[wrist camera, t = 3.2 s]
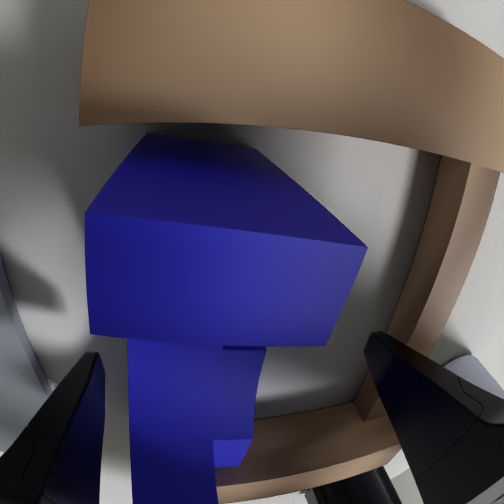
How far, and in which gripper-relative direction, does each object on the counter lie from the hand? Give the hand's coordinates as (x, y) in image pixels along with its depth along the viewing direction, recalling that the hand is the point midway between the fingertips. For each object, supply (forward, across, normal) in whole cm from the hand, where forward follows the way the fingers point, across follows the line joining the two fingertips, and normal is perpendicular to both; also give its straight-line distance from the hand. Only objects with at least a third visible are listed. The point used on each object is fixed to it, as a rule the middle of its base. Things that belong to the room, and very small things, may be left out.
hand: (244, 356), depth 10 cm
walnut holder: (+2, -3, 0) cm, 3 cm away
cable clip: (+2, +1, 0) cm, 3 cm away
